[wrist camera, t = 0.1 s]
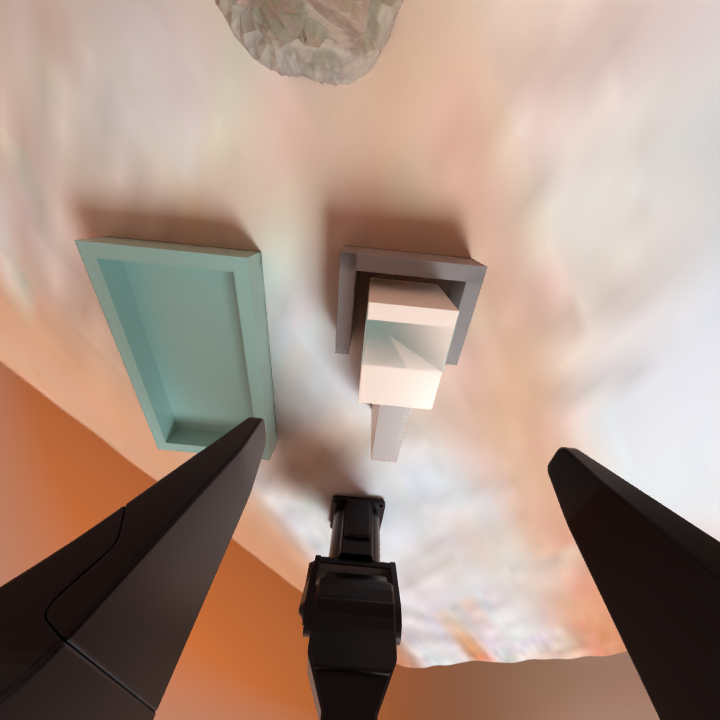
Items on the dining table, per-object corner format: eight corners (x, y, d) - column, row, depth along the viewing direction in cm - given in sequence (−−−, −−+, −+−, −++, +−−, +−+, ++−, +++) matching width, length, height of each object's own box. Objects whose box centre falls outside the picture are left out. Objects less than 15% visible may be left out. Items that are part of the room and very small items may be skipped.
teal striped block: (407, 413, 26) (416, 464, 21) (355, 408, 26) (351, 457, 21) (437, 284, 20) (460, 311, 15) (369, 277, 20) (368, 301, 15)
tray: (277, 440, 29) (269, 459, 27) (174, 430, 29) (158, 449, 27) (261, 251, 19) (247, 257, 17) (107, 236, 19) (74, 240, 17)
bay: (447, 346, 23) (456, 365, 20) (339, 335, 23) (335, 352, 20) (471, 258, 19) (487, 267, 17) (344, 245, 19) (340, 251, 16)
